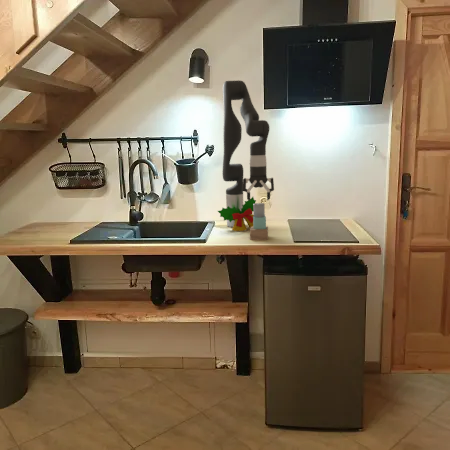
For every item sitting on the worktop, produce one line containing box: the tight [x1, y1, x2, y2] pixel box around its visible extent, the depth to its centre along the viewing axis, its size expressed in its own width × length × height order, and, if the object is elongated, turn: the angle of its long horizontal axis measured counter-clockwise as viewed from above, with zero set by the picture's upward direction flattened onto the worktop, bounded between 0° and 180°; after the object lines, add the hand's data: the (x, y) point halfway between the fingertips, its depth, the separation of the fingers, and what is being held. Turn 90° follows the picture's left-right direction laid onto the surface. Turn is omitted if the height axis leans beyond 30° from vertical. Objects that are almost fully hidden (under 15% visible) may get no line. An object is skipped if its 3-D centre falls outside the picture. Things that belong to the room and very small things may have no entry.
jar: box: [252, 202, 266, 218], centre depth 207 cm, size 5×5×6 cm
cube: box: [253, 215, 267, 229], centre depth 208 cm, size 6×6×6 cm
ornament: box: [217, 196, 257, 232], centre depth 228 cm, size 21×8×15 cm, turn 96°
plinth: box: [249, 226, 269, 241], centre depth 209 cm, size 8×8×5 cm
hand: (258, 200), depth 206 cm, fingers open, 8 cm apart
